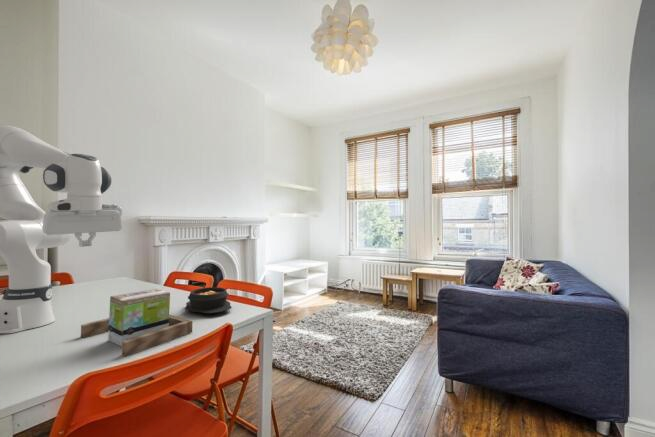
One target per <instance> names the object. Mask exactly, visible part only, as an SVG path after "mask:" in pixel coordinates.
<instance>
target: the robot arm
mask: <svg viewBox="0 0 655 437" xmlns="http://www.w3.org/2000/svg"><path fill="white" fill-rule="evenodd" d="M34 168H37V169H38V168H39V169H44V170H43V174H42V176H43V177H42V179H43V180H42V181H43V183H44V185H45V186H46V187H47V188H48V189H49V190H51V191H53V192H56V193H63V194H64V193H66V198H64V199H60V200H59V199H58V200H56V201H51V202H48V203H47V208H48V210H47V211H45V210H43V209H42V207H40V206H39V205H38V204H37V202H35V200H34V199H33V197H32V196H31V194H30V192H29V190H28V189H27V187H26V186H25V184H24V183H23V180H22V179H21V177H20V172H21V173H22V174H27V173H29V172H30V170H32V169H34ZM111 184H112V177H111V175H110V173H109V172H108V170H106V168H104V167H103V166H102V165H101V162H100V160H99V159H98V158H97V157H95V156H93V155H88V154H83V153H68V152H66V151H63V150H62V149H59V148H58V147H55V146H53V145H52V144H49V143H48V142H46V141H44V140H42V139H41V138H39V137H37V136H35V135H33V134H32V133H31V132H29V131H27V130H24V129H23V128H20V127H18V126H15V125H9V124H8V125H7V124H5V125H3V124H1V125H0V218H2V219H3V220H2V221H0V256H1V258H3V260H4V261H5V264H6V266H7V271H8V288H6V289H4V290H1V291H0V296H2V299H0V334H13V333H17V332H22V331H26V330H31V329H35V328H38V327H39V328H40V327H43V326H46V325H49V324H51V323H53V322H55V321H56V317H55V314H54V312H53V311H54V310H53V306H52V305H53V304H52V298H53V284H52V283H51V282H52V281H51V280H52V275H51V274H52V271H51V270H52V267H51V264H50V263H49V261H47V260H45V259H41V258H40V257H39V256H38V254H37V251H36V250H39V249H53V248H56V247H60V246H63V245H66V244H67V243H69V242H70V240H71V239H72V238H71V237H72V235H74V237H75V239H76V240H77V242H78V245H79V246H78V247H82V248H83V247H91V246H92V244H93V242H92V241H93V240H95V238H96V236H97V233H105V232H106V233H108V232H109V233H110V232H120V231H121V230H122V228H123V222H122V221H123V220H122V217H121V216H122V213H123V210H122V209H123V208H122V207H120V206H118V205H117V204H103V194H104V193H106V191H107V190H109V189H110V187H111ZM83 234H88V235H89V237H88V239H84V240H83V239H82V237H83Z"/></svg>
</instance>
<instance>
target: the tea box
mask: <svg viewBox="0 0 655 437" xmlns="http://www.w3.org/2000/svg"><path fill="white" fill-rule="evenodd" d="M170 301H171V293H170V292H168V291H166V290H162V289H159V288H151V289H147V290H139V291H134V292H129V293H122V294H116V295H111V296H110V298H109V313H108V314H109V315H108V316H109V317H108V318H109V331H108V332H107V333H108V335H107V340H108V341H109V342H112V343H114V344H115V345H118V346H119V347H121V348H122V341H125V340H128V339H131V338H134V337H137V336H140V335H144V334H147V333H150V332H153V331H156V330H159V329H162V328H165V327H169V315H170Z"/></svg>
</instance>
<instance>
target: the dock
mask: <svg viewBox="0 0 655 437" xmlns="http://www.w3.org/2000/svg"><path fill="white" fill-rule="evenodd" d="M193 323H194V322H193V320H191V319H187V318H183V317H181V316H180V317H179V316H176V315H174V314H169V327H165V328H162V329H159V330H156V331H153V332H150V333H147V334H144V335H140V336H137V337H134V338H131V339H128V340H125V341H122V347H121V356H124V357H126V358H127V356H130V355H133V354H134V355H135V354H136V353H139V352H142V351H145V350H147V349H150V348H153V347H155V346H158V345H160V344H164V343H167V342H169V341H171V340H174V339H177V338H181V337H183V336H185V335H189V334H191V333H193ZM106 332H107V333H108V332H109V317H108V318H103V319H100V320H96V321H91V322H87V323H83V324H81V325H80V337H81V338H83V339H84V338H88V337H92V336H95V335H99V334H102V333H106Z"/></svg>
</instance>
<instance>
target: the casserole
mask: <svg viewBox="0 0 655 437" xmlns="http://www.w3.org/2000/svg"><path fill="white" fill-rule="evenodd" d="M228 296H229V293H228V291H227V288H224V287H216V286H215V287H213V286H212V287H202V288H197V289H194V290H192V291H190V293H189V295H188V296H187V299H188V301H187V302H186V304H185V305H186V306H185V310H187V311H189V312H194V313H198V314H199V313H200V314H219V313H222V312H225V311H226V312H227V311H229V310H231V309H232V308H233V307H232V306H231V302H230V301H228V300H227V298H228Z"/></svg>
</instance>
